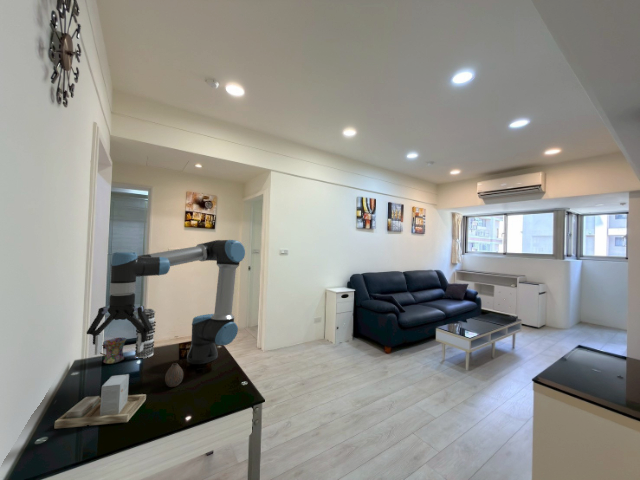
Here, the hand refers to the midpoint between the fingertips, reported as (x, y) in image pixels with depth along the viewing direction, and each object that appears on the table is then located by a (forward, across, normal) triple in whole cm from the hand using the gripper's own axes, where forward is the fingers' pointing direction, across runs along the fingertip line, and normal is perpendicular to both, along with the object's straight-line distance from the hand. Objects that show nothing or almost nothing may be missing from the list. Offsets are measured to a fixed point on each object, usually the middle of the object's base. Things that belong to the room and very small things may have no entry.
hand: (119, 352), depth 93 cm
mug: (+21, +26, -45) cm, 56 cm away
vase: (+21, -14, -16) cm, 30 cm away
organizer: (+21, +3, +1) cm, 21 cm away
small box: (+20, 0, +1) cm, 20 cm away
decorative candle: (+21, +13, -51) cm, 57 cm away
